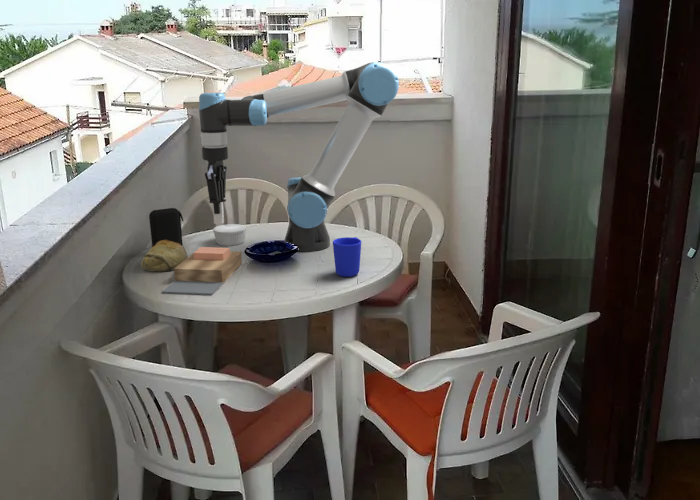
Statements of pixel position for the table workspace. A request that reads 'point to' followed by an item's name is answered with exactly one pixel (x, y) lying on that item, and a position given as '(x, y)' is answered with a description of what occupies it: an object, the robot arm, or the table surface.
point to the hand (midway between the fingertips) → (219, 223)
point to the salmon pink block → (211, 253)
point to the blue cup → (347, 256)
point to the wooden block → (208, 268)
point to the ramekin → (230, 234)
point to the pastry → (164, 256)
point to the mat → (192, 287)
